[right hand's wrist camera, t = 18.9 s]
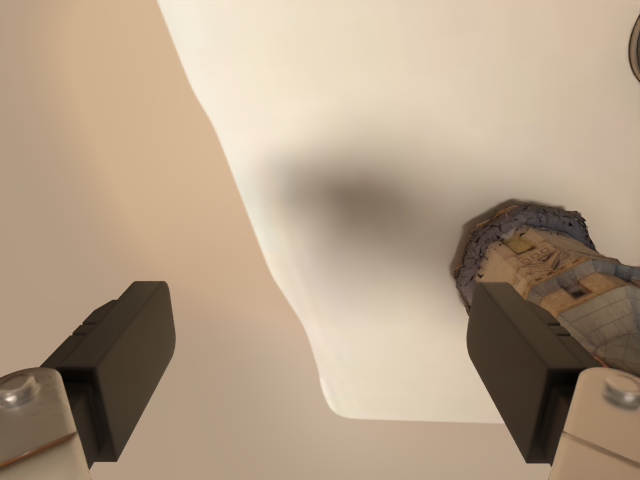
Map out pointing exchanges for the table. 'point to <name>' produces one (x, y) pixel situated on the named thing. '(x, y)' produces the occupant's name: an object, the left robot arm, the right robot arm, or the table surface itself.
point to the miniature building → (560, 278)
